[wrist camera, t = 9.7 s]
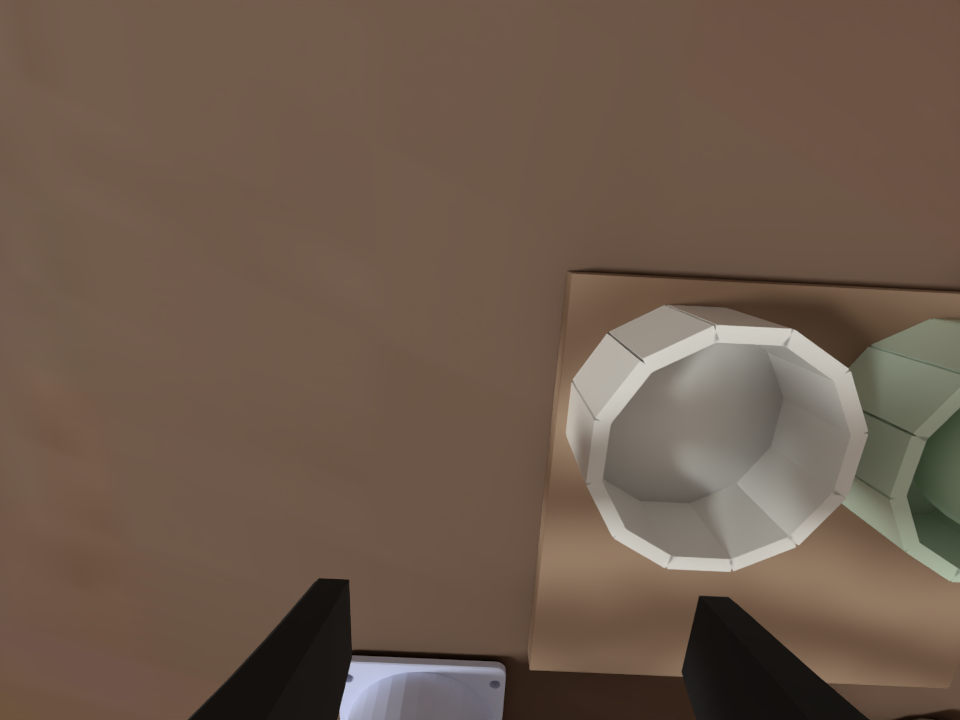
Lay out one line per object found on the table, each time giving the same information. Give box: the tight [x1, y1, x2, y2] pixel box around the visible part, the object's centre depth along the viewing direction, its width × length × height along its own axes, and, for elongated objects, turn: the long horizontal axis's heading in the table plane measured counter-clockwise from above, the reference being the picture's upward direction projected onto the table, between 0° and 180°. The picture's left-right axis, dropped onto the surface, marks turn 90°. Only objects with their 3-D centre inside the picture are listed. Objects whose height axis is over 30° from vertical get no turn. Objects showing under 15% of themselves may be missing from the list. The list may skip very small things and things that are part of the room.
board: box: [528, 271, 960, 688], centre depth 19 cm, size 18×20×1 cm
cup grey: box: [566, 305, 868, 572], centre depth 15 cm, size 8×8×4 cm
